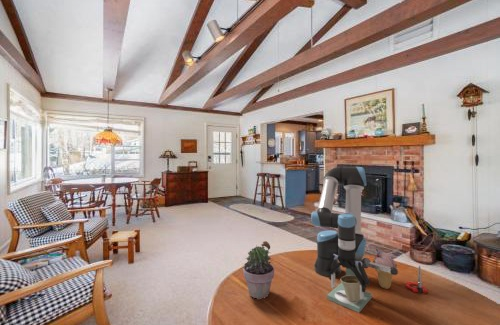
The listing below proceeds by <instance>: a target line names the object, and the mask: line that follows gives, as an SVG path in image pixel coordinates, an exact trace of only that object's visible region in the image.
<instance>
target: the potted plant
mask: <svg viewBox="0 0 500 325" xmlns="http://www.w3.org/2000/svg"><path fill="white" fill-rule="evenodd" d="M265 248H266V249H265ZM270 249H271V245H270V243H269V242H268V241H263V242H262V243H261V244H260V246H258V245H257V244H256V246H255V247H254V248H250V250H249V251H248V252H247V254H248V257H246V258H245V259H246V260H247V261H246V262H245V263H244V264H243V267H242V268H240V270H241V269H242V272H243V278H244V279H245V282H246V285H247V291H248V294H250V295H251V296H252V297H254V298H258V299H257V300H261V299H260V298H264V297H266V296H267V297H268V296H269V295H268V294H270V290H271V285H272V281H273V279H274V277H275V276H274V275H275V266H274V262H273V261H271V260H272V259H271V258H272V257H273V256H269V254H271V252H270V251H269V250H270ZM269 260H270V261H269ZM250 295H249V296H250ZM252 297H251V298H252ZM254 298H253V299H254ZM264 299H265V298H264Z"/></svg>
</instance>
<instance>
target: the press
mask: <svg viewBox="0 0 500 325" xmlns="http://www.w3.org/2000/svg"><path fill="white" fill-rule="evenodd" d="M363 258H364V257H363V255H360V254H356V253H355V260H356V261H359V262H360V261H361V260H362V259H363ZM355 266H356V267H357V270H358V271H359V272H360V270H359V268H358V266H357V264H355ZM360 274H361V273H360ZM348 275H353V276H356V275H355V274H354V272H353V271H351V269H348V268H346V267H345V276H348ZM372 298H373V293H371V292H369V291H367V290H366V291H365V292H364V297H363V298H362V299H361V300H359V301H350V300H348V299H347V297H346V293H345V290H344V286H343V284H342V282H341V281H340V283H339V284H338V285H337V286H335V287H334V288H332V290H331V291H330V292H329V293H327V295H326V299H327V300H328V301H331V302H333V303H335V304H337V305H340V306H342V307H344V308H347V309H349V310H352V311H354V312H356V313H358V314H360V313H361V311H362V310H363V309H364V308H365V306H367V304H368V303H369V301H370V300H372Z"/></svg>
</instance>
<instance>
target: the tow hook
mask: <svg viewBox="0 0 500 325" xmlns="http://www.w3.org/2000/svg"><path fill="white" fill-rule="evenodd" d="M417 276H418V277H417V282H412V281H411V282H410V281H409V282H406V283H405V287H406V288H407V289H409V290H411V291H412V292H413V293H420V294H423V293H425V294H428V293H429V291H428V289H426V287H425V286H424V285H422V283H423V282H422V270H421V266H419V265H418V270H417ZM412 286H415V287H412Z"/></svg>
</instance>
